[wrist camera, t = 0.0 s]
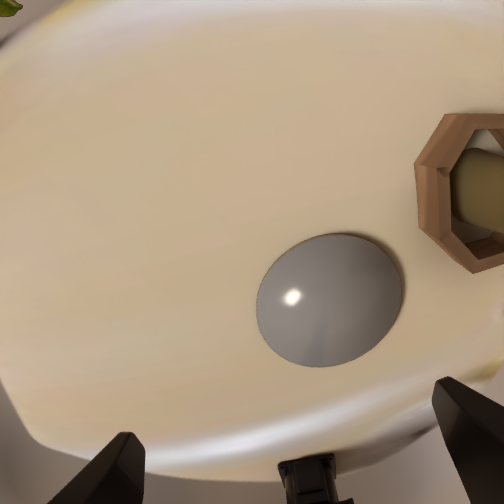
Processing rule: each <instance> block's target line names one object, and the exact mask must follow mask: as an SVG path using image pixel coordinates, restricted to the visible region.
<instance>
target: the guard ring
mask: <svg viewBox="0 0 504 504" xmlns="http://www.w3.org/2000/svg"><path fill="white" fill-rule="evenodd" d="M475 129H488V130H489V131H490V132H491V134H492V135H493V136H494V137H495V139H496V140H497V141H498V143H499V144H500V145H501V147H502V148H503V150H504V114H445V115H444V117H443V118H442V120H441V121H440V123H439V125H438V126H437V128H436V130H435V131H434V133H433V134H432V136H431V138H430V139H429V141H428V142H427V144H426V146H425V147H424V149H423V150H422V152H421V153H420V155H419V157H418V158H417V160H416V161H415V163H414V168H415V177H416V189H417V202H418V219H419V228H421V229H422V230H423V231H424V232H425V233H426V234H427V235H428V236H429V237H430V238H432V239H433V240H434V241H435V242H436V243H437V244H438V245H439V246H440V247H441V248H442V249H443V250H444V251H445V252H446V253H447V254H448V255H449V256H450V257H451V258H452V259H453V260H455V261H456V262H457V263H459V264H460V265H461V266H463V267H464V268H466V269H467V270H468V271H470V272H471V273H472V274H474V273H478V272H481V271H484V270H487V269H490V268H493V267H496V266H499V265H502V264H504V234H503V233H499V232H496V231H494V232H493V234H492V235H491V237H490V238H487V239H483V240H479V241H476V242H472V243H468V244H463V243H462V242H461V241H460V240H459V239H458V238H457V237H456V236H455V235H454V234H453V232H452V231H451V200H450V181H449V173H450V171H451V169H452V168H453V166H454V165H455V163H456V161H457V160H458V158H459V156H460V155H461V153H462V151H463V149H464V148H465V146H466V144H467V143H468V141H469V139H470V137H471V136H472V134H473V132H474V130H475Z"/></svg>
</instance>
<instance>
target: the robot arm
mask: <svg viewBox="0 0 504 504" xmlns="http://www.w3.org/2000/svg"><path fill="white" fill-rule="evenodd" d="M432 405H433V408H434V411H435V414H436V417H437V420H438V423H439V426H440V429H441V432H442V435H443V438H444V441H445V444H446V447H447V449H448V451H449V453H450V455H451V458H452V460H453V462H454V465H455V467H456V469H457V471H458V474H459V476H460V478H461V480H462V483H463V485H464V488H465V490H466V493H467V495H468V497H469V500H470V502H471V504H504V407H503V406H502V405H500V404H498V403H496V402H494V401H492V400H491V399H489V398H487V397H485V396H484V395H482V394H480V393H478V392H477V391H475V390H473V389H471V388H469V387H468V386H466V385H464V384H462V383H460V382H459V381H457V380H455V379H453V378H452V377H449V376H447V377H444V378H441V379H439V380H437V381H436V383H435V387H434V391H433V395H432ZM278 470H279V473H280V476H281V479H282V482H283V485H284V488H285V489H286V500H287V504H354V502H353V499H352V498H350V499H347V500H344V501H340V502H339V500H338V495H337V490H336V485H335V479H336V465H335V455H334V454H328V455H323V456H318V457H313V458H308V459H302V460H297V461H290V462H284V463H279V464H278ZM144 474H145V449H144V446H143V445H142V444H141V442H140V441H139V439H138V438H137V437H136V435H135V434H134V433H133V432H120V433H118V434H117V435H116V436H115V437H114V438H113V439H112V440H111V441H110V442H109V443H108V444H107V445H106V446H105V447H104V448H103V449H102V450H101V451H100V452H99V453H98V454H97V455H96V456H95V457H94V458H93V459H92V460H91V461H90V462H89V463H88V464H87V465H86V466H85V467H84V468H83V469H82V470H81V471H80V472H79V473H78V474H77V475H76V476H75V477H74V478H73V479H72V480H71V481H70V482H69V483H68V484H67V485H66V486H65V487H64V488H63V489H62V490H61V491H60V492H59V493H57V495H55V496H54V497H53V498H52V500H50V501H49V502H48V503H47V504H142V502H143V495H144Z"/></svg>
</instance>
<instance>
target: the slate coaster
mask: <svg viewBox="0 0 504 504" xmlns="http://www.w3.org/2000/svg"><path fill="white" fill-rule="evenodd" d="M400 302H401V283H400V278H399V275H398V272H397V270H396V268H395V266H394V264H393V262H392V261H391V260H390V258H389V257H388V256H387V255H386V254H385V253H384V252H383V251H382V250H381V249H380V248H379V247H377V246H376V245H374V244H373V243H371V242H370V241H368V240H365V239H363V238H361V237H357V236H354V235H348V234H327V235H321V236H317V237H313V238H310V239H308V240H305V241H303V242H301V243H299V244H297V245H295V246H293V247H292V248H290V249H289V250H288V251H286V252H285V253H284V254H282V255H281V256H280V257H279V258H278V259H277V260H276V261H275V262H274V264H273V265H272V266H271V267H270V268H269V270H268V272H267V273H266V275H265V276H264V278H263V280H262V283H261V285H260V288H259V291H258V295H257V302H256V316H257V322H258V326H259V330H260V332H261V334H262V336H263V338H264V340H265V341H266V343H267V344H268V346H269V347H270V348H271V349H272V350H273V351H274V352H275V353H277V354H278V355H279V356H281V357H282V358H284V359H286V360H288V361H290V362H293V363H295V364H298V365H302V366H308V367H331V366H336V365H340V364H344V363H347V362H349V361H352V360H354V359H356V358H358V357H360V356H362V355H363V354H365V353H367V352H368V351H370V350H371V349H372V348H373V347H374V346H376V345H377V344H378V343H379V342H380V341H381V340H382V339H383V338H384V336H385V335H386V334H387V333H388V331H389V330H390V328H391V326H392V325H393V323H394V321H395V319H396V316H397V314H398V311H399V307H400Z"/></svg>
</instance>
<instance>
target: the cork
mask: <svg viewBox="0 0 504 504" xmlns="http://www.w3.org/2000/svg"><path fill="white" fill-rule="evenodd" d="M449 181H450V200H451V212H452V214H453V215H454V216H455V217H456V218H457V219H458V220H459V221H462V222H465V223H467V224H471V225H474V226H478V227H482V228H485V229H489V230H492V231H496V232H499V233H503V234H504V158H502V157H500V156H497V155H495V154H492V153H490V152H487V151H484V150H482V149H479V148H468V149H466V150H463V151H462V153H461V155H460V156H459V158H458V160H457V161H456V163H455V165H454V166H453V168H452V169H451V171H450V173H449Z"/></svg>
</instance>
